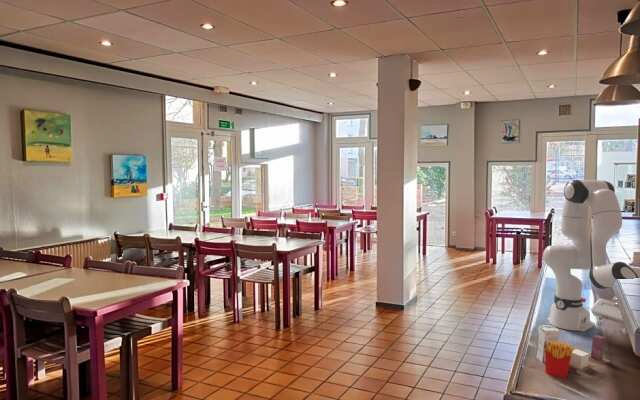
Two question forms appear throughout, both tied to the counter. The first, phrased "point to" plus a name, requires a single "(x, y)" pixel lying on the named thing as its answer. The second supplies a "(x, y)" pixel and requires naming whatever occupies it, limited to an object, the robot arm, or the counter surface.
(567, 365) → the french fries
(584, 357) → the cream cube
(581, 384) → the counter surface
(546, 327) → the syrup box
